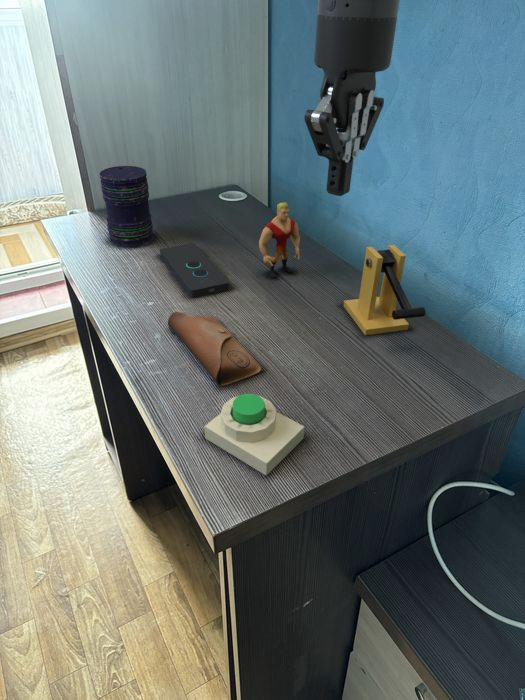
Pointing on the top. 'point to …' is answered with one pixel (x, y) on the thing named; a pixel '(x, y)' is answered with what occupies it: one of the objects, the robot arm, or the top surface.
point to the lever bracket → (369, 308)
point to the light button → (248, 409)
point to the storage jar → (127, 206)
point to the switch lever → (398, 289)
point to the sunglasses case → (214, 348)
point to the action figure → (280, 238)
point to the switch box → (255, 437)
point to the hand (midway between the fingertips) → (337, 193)
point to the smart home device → (194, 270)
